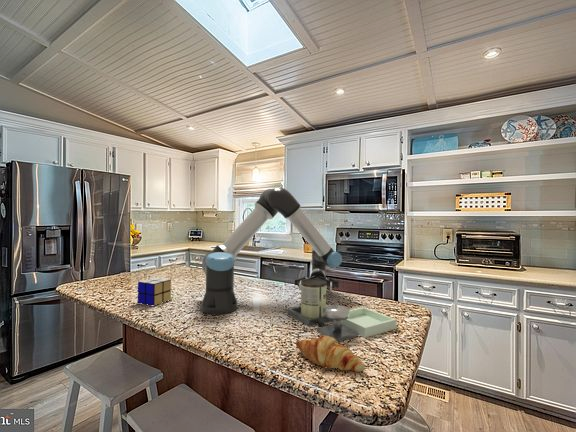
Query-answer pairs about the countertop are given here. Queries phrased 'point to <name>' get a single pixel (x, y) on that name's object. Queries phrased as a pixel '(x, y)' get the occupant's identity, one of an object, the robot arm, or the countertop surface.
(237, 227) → the robot arm
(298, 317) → the socket
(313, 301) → the coffee can
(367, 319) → the tray
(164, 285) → the puzzle cube
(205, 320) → the countertop surface
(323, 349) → the croissant
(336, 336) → the door knob
